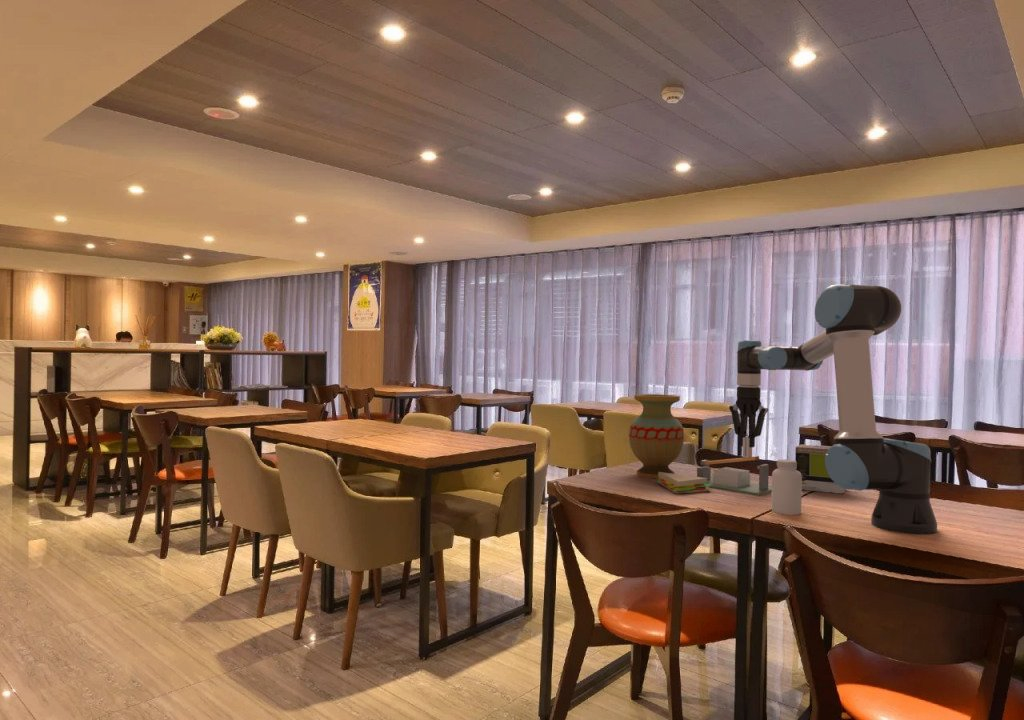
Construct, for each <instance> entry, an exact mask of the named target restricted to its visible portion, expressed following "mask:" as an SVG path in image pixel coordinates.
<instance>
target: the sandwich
mask: <svg viewBox="0 0 1024 720" xmlns="http://www.w3.org/2000/svg"><path fill="white" fill-rule="evenodd" d="M658 477H659V478H658V479H657V483H658V484H660V485H661V486H663V487H664V488H666V489H669V490H670V491H672V492H673V493H675V494H688V493H699V492H700V493H701V492H709V487H708V486H712V485H708V484H704V483H707V478H702V477H697V476H693V475H685V474H678V473H677V474H676V473H675V474H671V473H664V472H658Z"/></svg>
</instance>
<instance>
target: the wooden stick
mask: <svg viewBox="0 0 1024 720" xmlns="http://www.w3.org/2000/svg"><path fill="white" fill-rule="evenodd" d="M757 460H760V456H759V455H757V456H752V457H739V458H738V457H736V458H727V459H726V458H725V459H717V460H709V459H704V460H703V459H701V460H699V461H698V466H699V467H704V466H705V467H709V466H710V465H715V464H717V465H718V464H727V463H738V462H740V463H741V462H746V461H747V462H748V461H757Z"/></svg>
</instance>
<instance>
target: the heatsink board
mask: <svg viewBox="0 0 1024 720" xmlns="http://www.w3.org/2000/svg"><path fill="white" fill-rule="evenodd" d="M756 468H757V470H758V471H759V473H758V474H759V477H758V479H759V481H758V483H755V482H751V475H750V470H747V469H739V468H733V467H727V466H725V467H720V468H717V469H716V468H715V469H713V474H712V476H711V471H712V468H711V466H704V467H700V466H699V467H697V468H696V477H702V478H707V483H704V484H708V485H712V486H708V487H707V488H710V489H711V488H712V489H716V490H723V491H728V492H734V493H739V494H745V495H751V496H756V497H757V496H762V495H767V494H770V493H771V494H772V485H770V484H769V470H770V469H769V468H770V467H769V464H767V463H764V464H759V465H757V467H756Z"/></svg>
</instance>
